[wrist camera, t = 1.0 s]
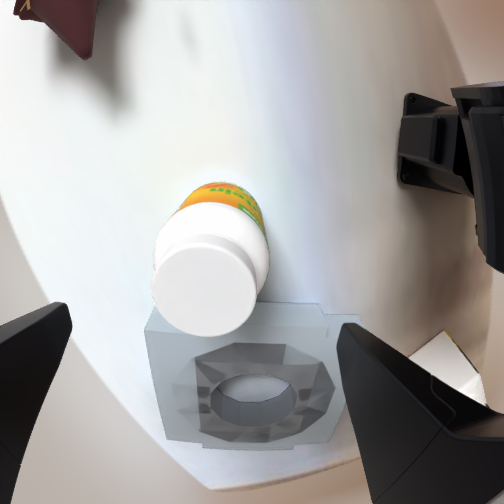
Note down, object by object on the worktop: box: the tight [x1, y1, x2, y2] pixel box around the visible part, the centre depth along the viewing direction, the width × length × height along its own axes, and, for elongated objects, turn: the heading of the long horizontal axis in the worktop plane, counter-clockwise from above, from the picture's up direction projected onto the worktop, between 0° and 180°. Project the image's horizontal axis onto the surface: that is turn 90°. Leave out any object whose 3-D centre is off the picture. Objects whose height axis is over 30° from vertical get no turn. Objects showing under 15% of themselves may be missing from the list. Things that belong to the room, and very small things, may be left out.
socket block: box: [144, 302, 367, 450], centre depth 24 cm, size 16×16×3 cm
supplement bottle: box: [152, 181, 270, 337], centre depth 16 cm, size 5×5×10 cm
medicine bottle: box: [408, 331, 489, 408], centre depth 21 cm, size 7×7×12 cm
